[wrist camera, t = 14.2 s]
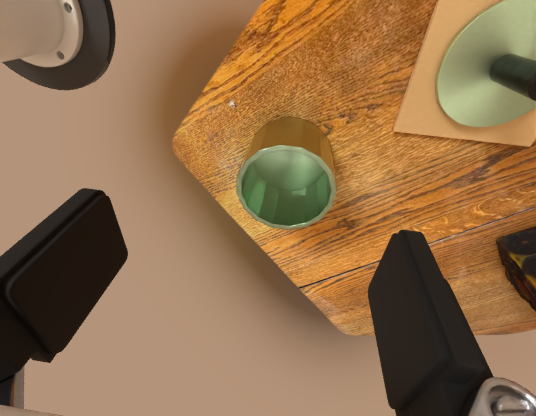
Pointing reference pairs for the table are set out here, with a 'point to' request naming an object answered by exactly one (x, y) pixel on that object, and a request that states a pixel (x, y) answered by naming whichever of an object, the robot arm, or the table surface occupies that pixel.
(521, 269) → the candle
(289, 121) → the pot
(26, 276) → the robot arm
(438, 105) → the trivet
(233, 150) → the table surface
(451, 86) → the lid
